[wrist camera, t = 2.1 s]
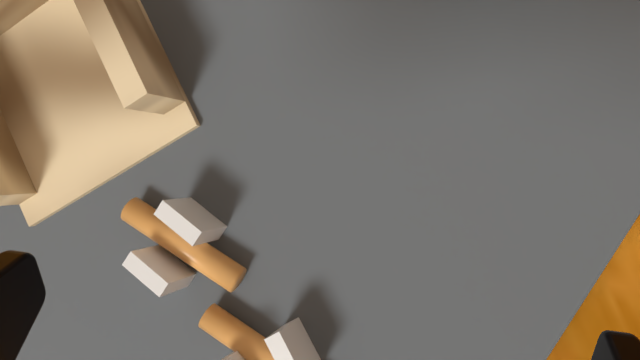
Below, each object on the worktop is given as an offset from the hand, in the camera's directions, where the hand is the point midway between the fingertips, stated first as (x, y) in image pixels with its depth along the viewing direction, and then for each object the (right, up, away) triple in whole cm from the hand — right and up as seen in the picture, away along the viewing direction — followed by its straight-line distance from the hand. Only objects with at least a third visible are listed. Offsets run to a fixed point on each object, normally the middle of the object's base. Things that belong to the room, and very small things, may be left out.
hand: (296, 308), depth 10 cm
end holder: (-9, +6, +15) cm, 18 cm away
